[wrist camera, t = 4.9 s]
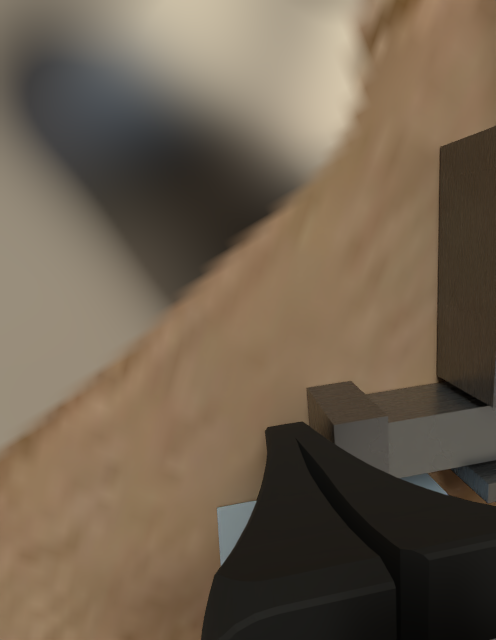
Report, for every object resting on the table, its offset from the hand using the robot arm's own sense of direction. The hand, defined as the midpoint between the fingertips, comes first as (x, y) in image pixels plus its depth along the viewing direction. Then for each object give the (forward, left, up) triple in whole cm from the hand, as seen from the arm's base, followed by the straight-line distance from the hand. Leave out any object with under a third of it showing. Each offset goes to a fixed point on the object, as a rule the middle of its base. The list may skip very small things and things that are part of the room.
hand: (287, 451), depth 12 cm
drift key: (0, -5, -1) cm, 5 cm away
